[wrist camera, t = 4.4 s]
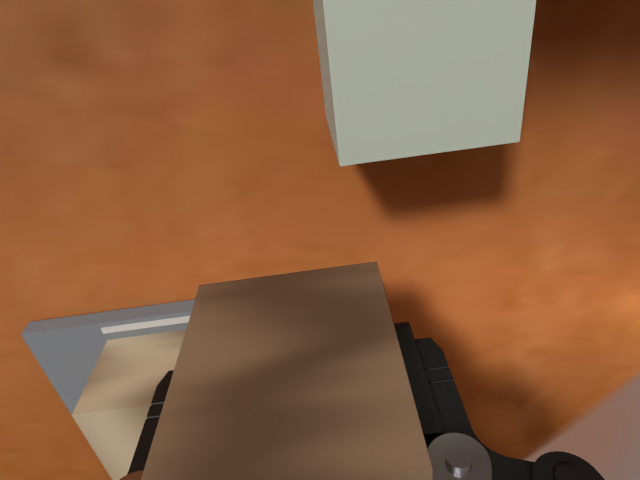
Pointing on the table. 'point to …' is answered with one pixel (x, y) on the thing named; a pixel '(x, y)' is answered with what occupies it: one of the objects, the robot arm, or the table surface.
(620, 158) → the table surface
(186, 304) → the plate
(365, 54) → the block
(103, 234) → the table surface
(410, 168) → the table surface
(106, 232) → the table surface
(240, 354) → the block
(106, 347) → the pedestal
